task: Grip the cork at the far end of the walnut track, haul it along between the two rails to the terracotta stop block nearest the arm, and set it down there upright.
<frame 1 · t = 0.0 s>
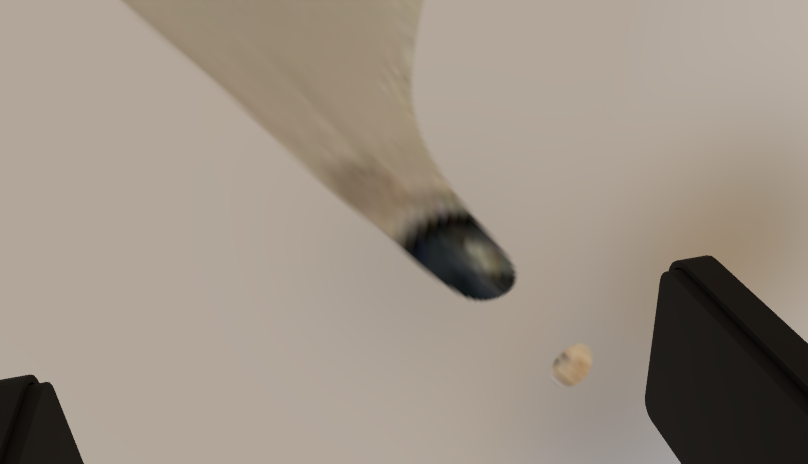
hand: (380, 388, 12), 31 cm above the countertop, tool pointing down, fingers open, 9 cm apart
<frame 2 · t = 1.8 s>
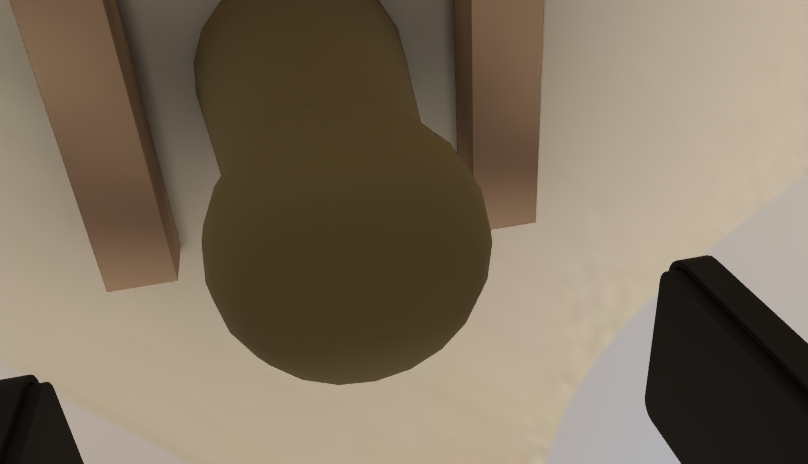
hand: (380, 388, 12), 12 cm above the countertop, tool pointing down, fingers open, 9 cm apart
cork: (302, 74, 22), on the countertop
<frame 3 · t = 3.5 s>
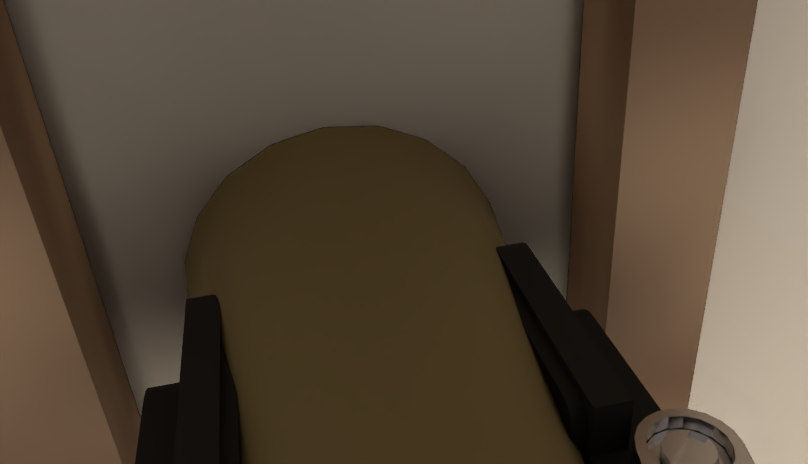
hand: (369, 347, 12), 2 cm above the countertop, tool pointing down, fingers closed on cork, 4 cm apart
cork: (346, 267, 15), on the countertop, touching gripper
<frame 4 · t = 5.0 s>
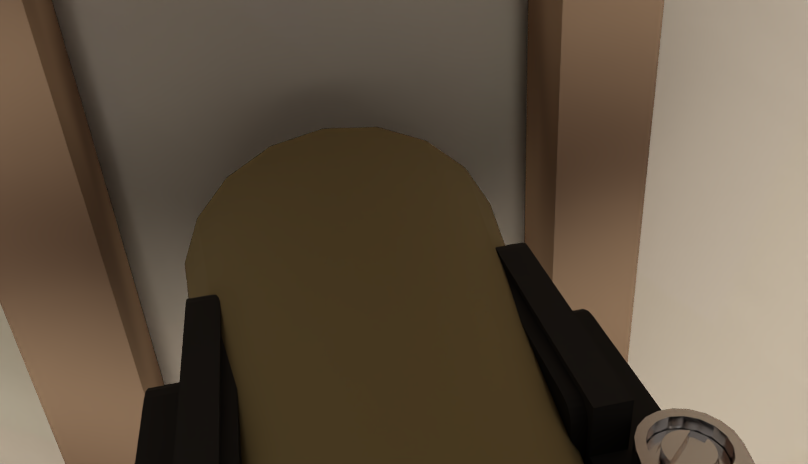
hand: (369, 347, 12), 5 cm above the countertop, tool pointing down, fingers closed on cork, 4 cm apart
walnut track: (322, 135, 16), on the countertop
cork: (346, 268, 15), point 2 cm above the countertop, touching gripper
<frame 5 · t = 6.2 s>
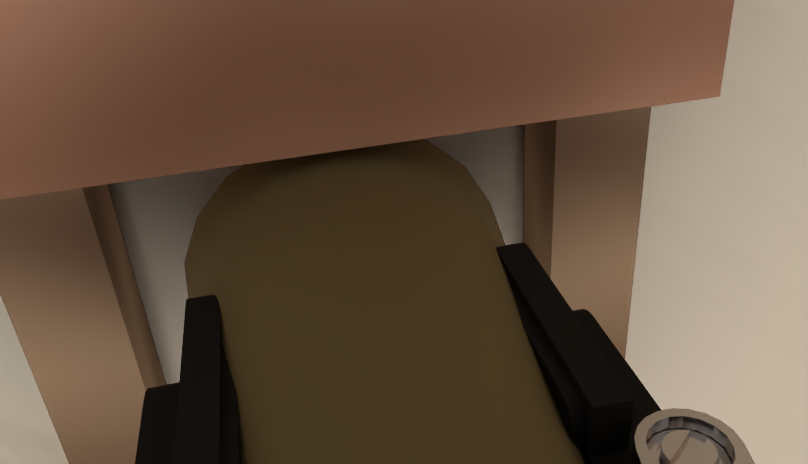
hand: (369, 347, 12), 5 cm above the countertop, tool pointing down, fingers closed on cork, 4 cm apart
walnut track: (351, 362, 19), on the countertop
cork: (346, 268, 15), point 3 cm above the countertop, touching gripper
when the fingers open (3 cm above the countertop, at t = 6.9 s): cork stays where it is, on the countertop.
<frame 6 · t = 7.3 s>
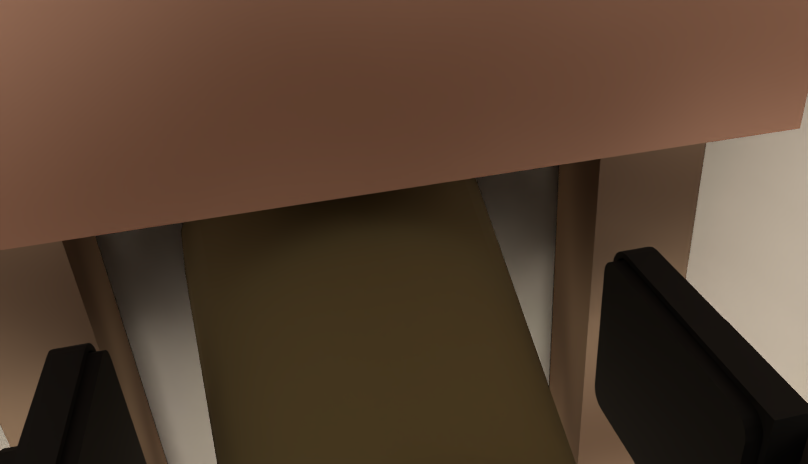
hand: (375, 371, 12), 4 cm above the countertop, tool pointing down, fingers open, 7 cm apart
walnut track: (363, 408, 17), on the countertop
cork: (337, 239, 15), on the countertop
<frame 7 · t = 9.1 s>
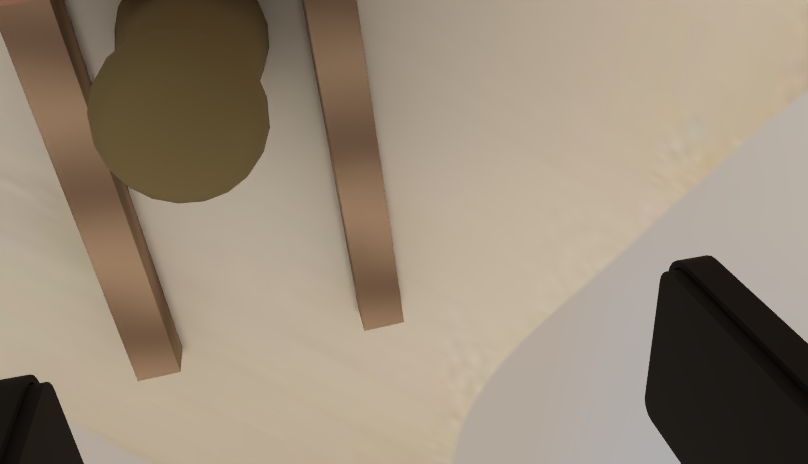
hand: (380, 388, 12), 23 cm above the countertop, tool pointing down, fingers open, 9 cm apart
walnut track: (222, 138, 33), on the countertop
cork: (193, 37, 31), on the countertop
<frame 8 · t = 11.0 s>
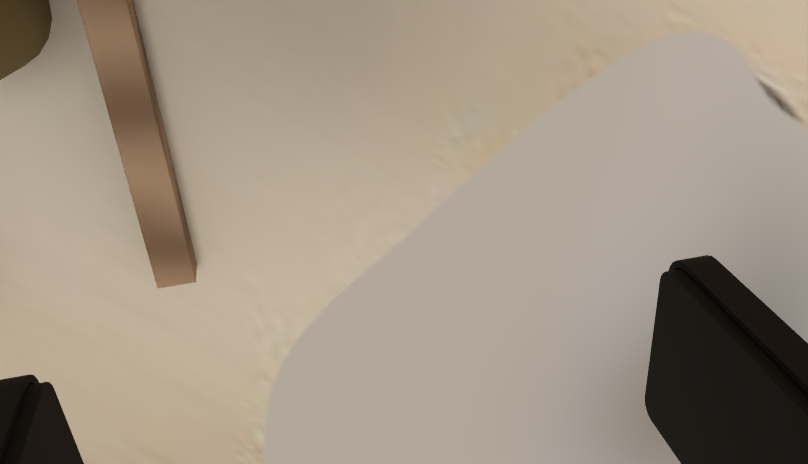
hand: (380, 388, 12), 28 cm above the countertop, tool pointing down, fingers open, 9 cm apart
walnut track: (12, 101, 36), on the countertop
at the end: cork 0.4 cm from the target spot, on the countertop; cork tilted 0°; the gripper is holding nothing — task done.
